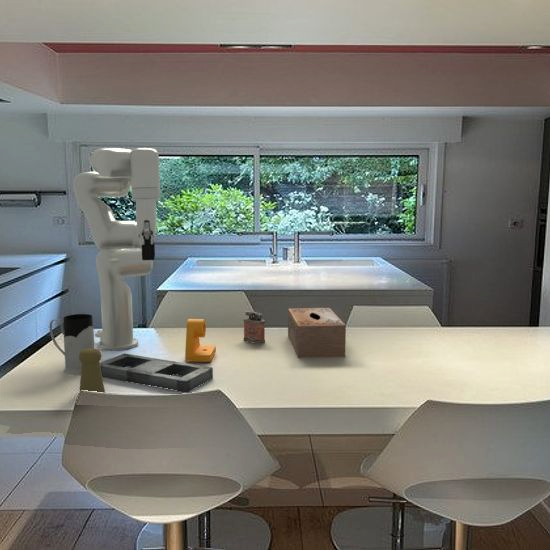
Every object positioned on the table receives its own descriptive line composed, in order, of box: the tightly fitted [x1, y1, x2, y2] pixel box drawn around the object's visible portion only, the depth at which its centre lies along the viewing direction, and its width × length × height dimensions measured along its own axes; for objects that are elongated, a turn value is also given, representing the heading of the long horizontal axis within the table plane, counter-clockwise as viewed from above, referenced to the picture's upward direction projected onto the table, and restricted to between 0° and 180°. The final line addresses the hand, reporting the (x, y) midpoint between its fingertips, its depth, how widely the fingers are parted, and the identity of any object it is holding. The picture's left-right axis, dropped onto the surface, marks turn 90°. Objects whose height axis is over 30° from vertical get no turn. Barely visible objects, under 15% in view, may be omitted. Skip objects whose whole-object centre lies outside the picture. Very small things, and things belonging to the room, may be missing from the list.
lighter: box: [242, 310, 266, 344], centre depth 182 cm, size 8×3×10 cm, turn 58°
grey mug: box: [49, 313, 95, 376], centre depth 153 cm, size 9×14×15 cm, turn 70°
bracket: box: [184, 318, 217, 363], centre depth 163 cm, size 11×7×12 cm, turn 177°
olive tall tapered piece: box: [79, 347, 106, 393], centre depth 134 cm, size 6×6×11 cm
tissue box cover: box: [287, 307, 347, 359], centre depth 177 cm, size 26×14×10 cm, turn 5°
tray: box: [100, 353, 214, 393], centre depth 146 cm, size 30×12×3 cm, turn 64°
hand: (148, 258), depth 150 cm, fingers open, 9 cm apart
